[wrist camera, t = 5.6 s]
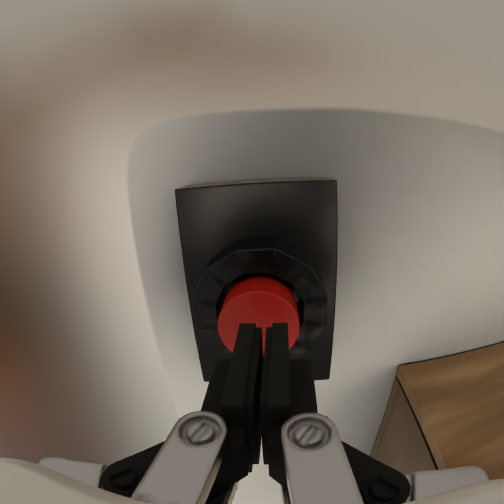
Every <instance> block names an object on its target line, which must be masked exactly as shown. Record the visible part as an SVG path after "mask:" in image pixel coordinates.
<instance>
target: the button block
mask: <svg viewBox="0 0 504 504" xmlns="http://www.w3.org/2000/svg"><path fill="white" fill-rule="evenodd" d="M175 196H176V206H177V215H178V224H179V233H180V241H181V249H182V256H183V263H184V271H185V277H186V284H187V291H188V297H189V303H190V309H191V315H192V321H193V327H194V333H195V338H196V343H197V349H198V354H199V359H200V364H201V369H202V374H203V379H204V381H206V382H210V379H211V376H212V372H213V369H214V366H215V363H216V360H217V359H231V358H232V354H233V352H232V351H231V350H229V349H228V348H227V347H226V345H225V344H224V343H223V341H222V339H221V337H220V335H219V331H218V318H219V315H220V312H221V309H222V306H223V303H224V300H225V298H226V295H227V294H228V292H229V291H230V289H231V288H232V287H233V286H234V285H236V284H237V283H239V282H240V281H242V280H245V279H247V278H251V277H268V278H272V279H275V280H277V281H279V282H281V283H282V284H284V285H285V286H286V287H287V288H288V289H289V290H290V291H291V292H292V294H293V296H294V298H295V300H296V304H297V310H298V316H299V325H300V329H299V334H298V337H297V340H296V342H295V343H294V345H293V346H292V347H291V348H290V349H289V359H297V358H311V361H312V369H313V377H314V380H325V379H329V377H330V367H331V357H332V345H333V333H334V318H335V301H336V278H337V181H336V180H334V179H330V178H299V179H274V180H255V181H239V182H225V183H212V184H201V185H190V186H185V187H181V188H178V189H175Z"/></svg>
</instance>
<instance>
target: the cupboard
mask: <svg viewBox="0 0 504 504" xmlns="http://www.w3.org/2000/svg"><path fill="white" fill-rule="evenodd" d="M370 457H372V458H374V459H376V460H378V461H380V462H382V463H384V464H386V465H388V466H390V467H392V468H394V469H396V470H398V471H399V472H401V473H402V474H404V475H412V474H413V473H414V472H417V471H431V470H439V469H438V467H437V464H436V462H435V459H434V457H433V454H432V452H431V449H430V447H429V445H428V442H427V440H426V438H425V435H424V433H423V431H422V428H421V426H420V424H419V422H418V419H417V417H416V415H415V413H414V411H413V408H412V406H411V404H410V402H409V400H408V398H407V396H406V393H405V391H404V389H403V387H402V385H401V383H400V381H399V379H398V377H396V378H395V381H394V385H393V389H392V392H391V396H390V399H389V402H388V406H387V409H386V412H385V415H384V418H383V421H382V424H381V427H380V430H379V433H378V436H377V438H376V441H375V444H374V446H373V449H372V452H371V454H370Z"/></svg>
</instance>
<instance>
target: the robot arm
mask: <svg viewBox="0 0 504 504" xmlns="http://www.w3.org/2000/svg"><path fill="white" fill-rule="evenodd" d="M261 436H262V447H263V459H264V464H269V476H271V477H272V478H273V479H274V480H276V481H277V482H278V483H279V484H281V492H282V499H283V504H504V479H496V480H489V478H488V476H487V473H486V472H485V471H484V470H483V469H482V468H480V467H477V466H465V467H458V468H451V469H442V470H431V471H417V472H414V473H413V474H412V475H404V474H402V473H401V472H399V471H398V470H396V469H394V468H392V467H390V466H388V465H386V464H384V463H382V462H380V461H378V460H376V459H374V458H372V457H370V456H368V455H366V454H365V453H363V452H361V451H359V450H357V449H355V448H354V447H352V446H350V445H348V444H346V443H345V442H343V441H341V439H340V436H339V433H338V431H337V428H336V426H335V424H334V423H333V421H332V420H331V419H329V418H328V417H327V416H324V415H322V414H319V413H318V412H317V403H316V394H315V385H314V377H313V369H312V361H311V358H297V359H289V337H288V322H287V323H272V327H266V337H265V349H264V354H263V337H262V327H256V323H240V325H239V329H238V333H237V337H236V341H235V345H234V350H233V354H232V358H231V359H217V360H216V363H215V366H214V369H213V372H212V376H211V379H210V382H209V385H208V389H207V392H206V395H205V399H204V402H203V405H202V408H201V411H196V412H191V413H189V414H186V415H184V416H183V417H181V418H180V419H179V420H178V421H177V422H176V424H175V425H174V427H173V428H172V430H171V432H170V434H169V435H168V437H167V439H166V440H165V441H164V442H161V443H159V444H157V445H155V446H153V447H151V448H148V449H146V450H144V451H141V452H139V453H137V454H134V455H132V456H130V457H127V458H125V459H122V460H120V461H117V462H115V463H113V464H111V465H110V466H105V465H104V463H101V462H92V461H84V460H77V459H70V458H63V457H58V456H48V457H45V458H43V459H42V460H41V461H40V462H39V464H35V463H31V462H28V461H23V460H17V459H9V458H0V504H232V502H233V499H234V496H235V493H236V490H237V488H238V482H239V480H241V479H242V478H244V477H246V476H247V475H248V472H252V465H253V464H259V458H260V447H261Z"/></svg>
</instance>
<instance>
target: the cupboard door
mask: <svg viewBox="0 0 504 504" xmlns="http://www.w3.org/2000/svg"><path fill="white" fill-rule="evenodd" d="M397 377H398V379H399V381H400V383H401V385H402V387H403V389H404V391H405V393H406V396H407V398H408V400H409V402H410V404H411V406H412V408H413V411H414V413H415V415H416V417H417V419H418V422H419V424H420V426H421V428H422V431H423V433H424V435H425V438H426V440H427V442H428V445H429V447H430V449H431V452H432V454H433V457H434V459H435V462H436V464H437V467H438V469H439V470H442V469H451V468H458V467H465V466H477V467H480V468H482V469H483V470H484V471H485V472H486V473H487V476H488V478H489V480H496V479H504V342H502V343H499V344H495V345H492V346H488V347H485V348H481V349H477V350H473V351H469V352H465V353H461V354H457V355H453V356H448V357H443V358H439V359H434V360H429V361H424V362H418V363H413V364H407V365H401V366H399V369H398V373H397Z"/></svg>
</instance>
